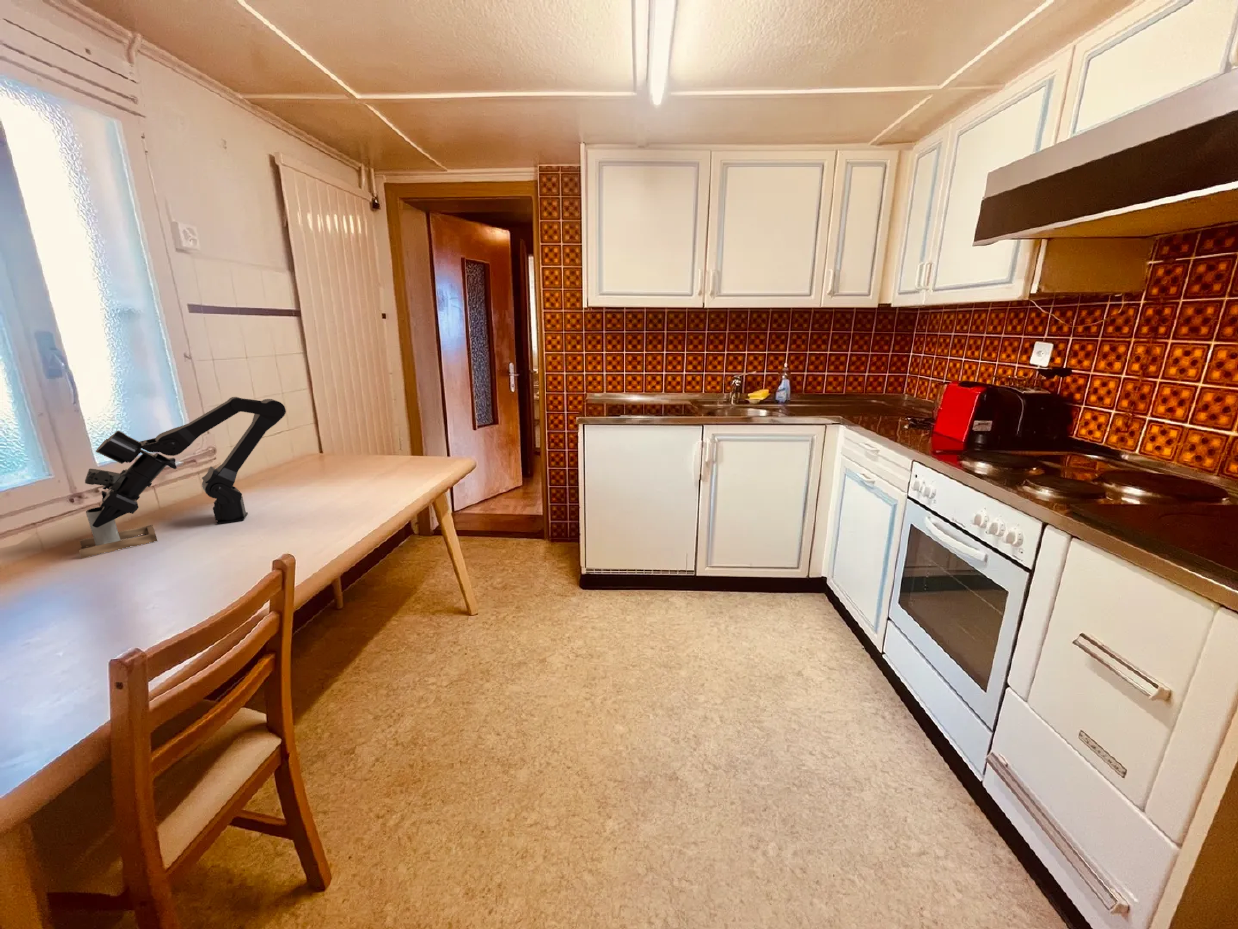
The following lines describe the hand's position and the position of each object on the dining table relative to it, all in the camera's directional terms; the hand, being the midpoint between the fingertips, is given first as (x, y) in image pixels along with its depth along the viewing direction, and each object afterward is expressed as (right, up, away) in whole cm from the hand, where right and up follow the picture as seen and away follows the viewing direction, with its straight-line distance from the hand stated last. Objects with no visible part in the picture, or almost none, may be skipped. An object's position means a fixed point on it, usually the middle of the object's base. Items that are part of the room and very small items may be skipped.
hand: (94, 524), depth 127 cm
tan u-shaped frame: (+2, -6, +4) cm, 7 cm away
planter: (+1, -6, +3) cm, 7 cm away
